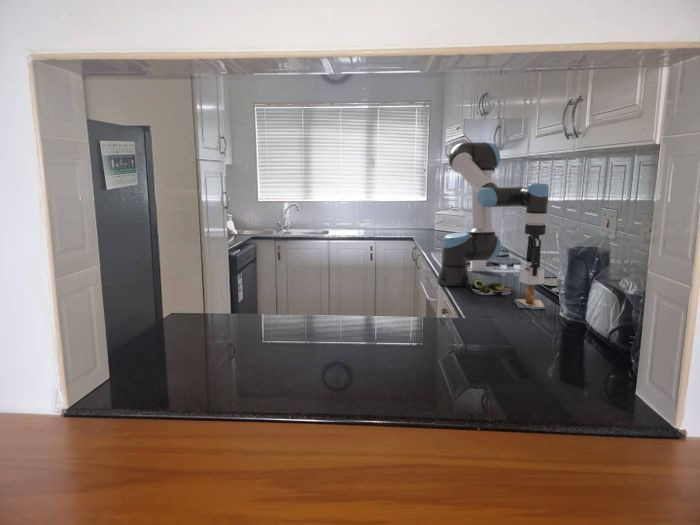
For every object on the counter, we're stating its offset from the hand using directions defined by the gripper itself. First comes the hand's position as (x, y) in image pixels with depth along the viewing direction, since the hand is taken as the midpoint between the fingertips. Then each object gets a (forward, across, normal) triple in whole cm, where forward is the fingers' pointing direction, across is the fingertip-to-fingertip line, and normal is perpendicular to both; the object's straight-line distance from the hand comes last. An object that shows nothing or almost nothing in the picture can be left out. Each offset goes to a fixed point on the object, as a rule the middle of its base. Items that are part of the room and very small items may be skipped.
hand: (531, 280), depth 199 cm
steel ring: (0, 0, 0) cm, 0 cm away
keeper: (+10, 0, 0) cm, 10 cm away
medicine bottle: (+10, +64, +16) cm, 67 cm away
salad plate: (+11, +20, +14) cm, 27 cm away
